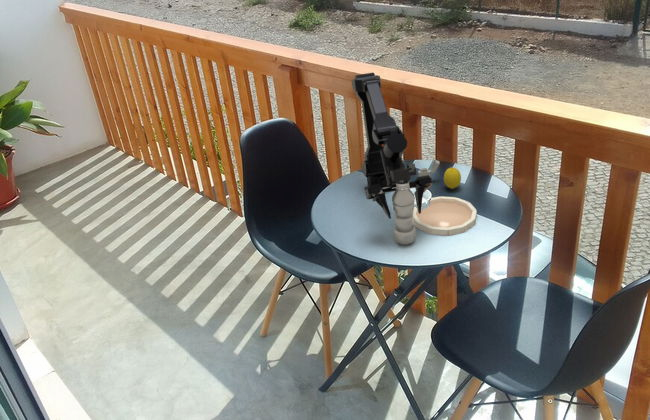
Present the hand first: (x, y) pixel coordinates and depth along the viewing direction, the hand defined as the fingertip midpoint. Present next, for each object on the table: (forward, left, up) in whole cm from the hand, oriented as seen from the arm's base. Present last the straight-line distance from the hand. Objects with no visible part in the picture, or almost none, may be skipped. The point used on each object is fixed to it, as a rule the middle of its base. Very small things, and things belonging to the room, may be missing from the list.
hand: (405, 216), depth 168 cm
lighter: (-18, +33, -10) cm, 39 cm away
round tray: (0, +18, -10) cm, 20 cm away
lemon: (-9, +34, -10) cm, 36 cm away
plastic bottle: (-1, +1, -10) cm, 10 cm away
